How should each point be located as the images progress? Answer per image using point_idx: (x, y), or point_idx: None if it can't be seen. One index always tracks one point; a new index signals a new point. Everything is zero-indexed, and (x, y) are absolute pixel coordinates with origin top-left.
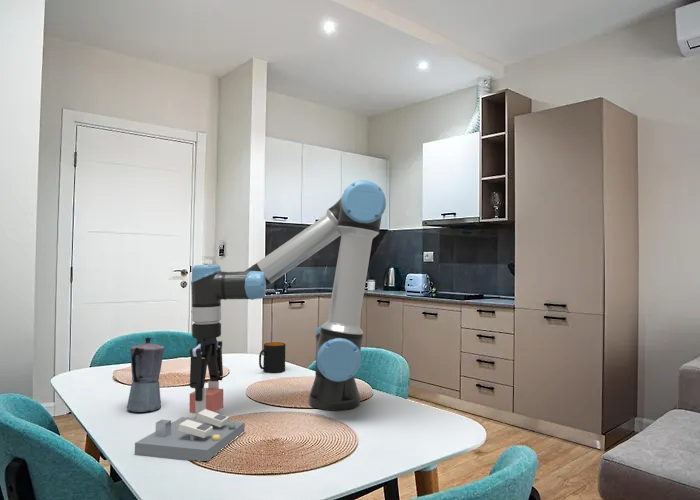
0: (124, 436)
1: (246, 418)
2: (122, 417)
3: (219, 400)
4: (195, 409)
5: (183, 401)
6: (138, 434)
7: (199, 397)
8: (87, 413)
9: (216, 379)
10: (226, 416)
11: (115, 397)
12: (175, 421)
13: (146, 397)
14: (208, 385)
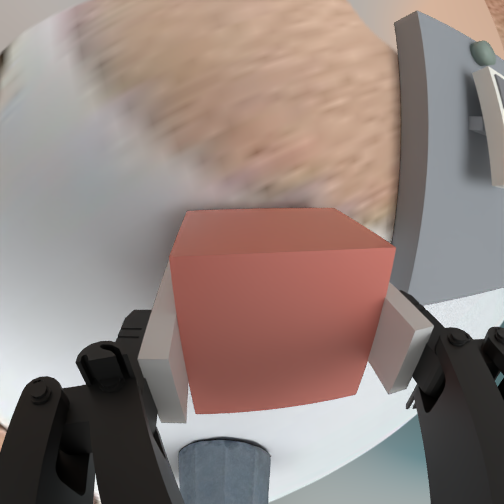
0: None
1: (199, 63)
2: (303, 453)
3: (247, 224)
4: None
5: None
6: None
7: (418, 307)
8: (287, 489)
9: (139, 390)
10: (496, 74)
11: None
12: (446, 296)
13: (257, 482)
14: (187, 395)
